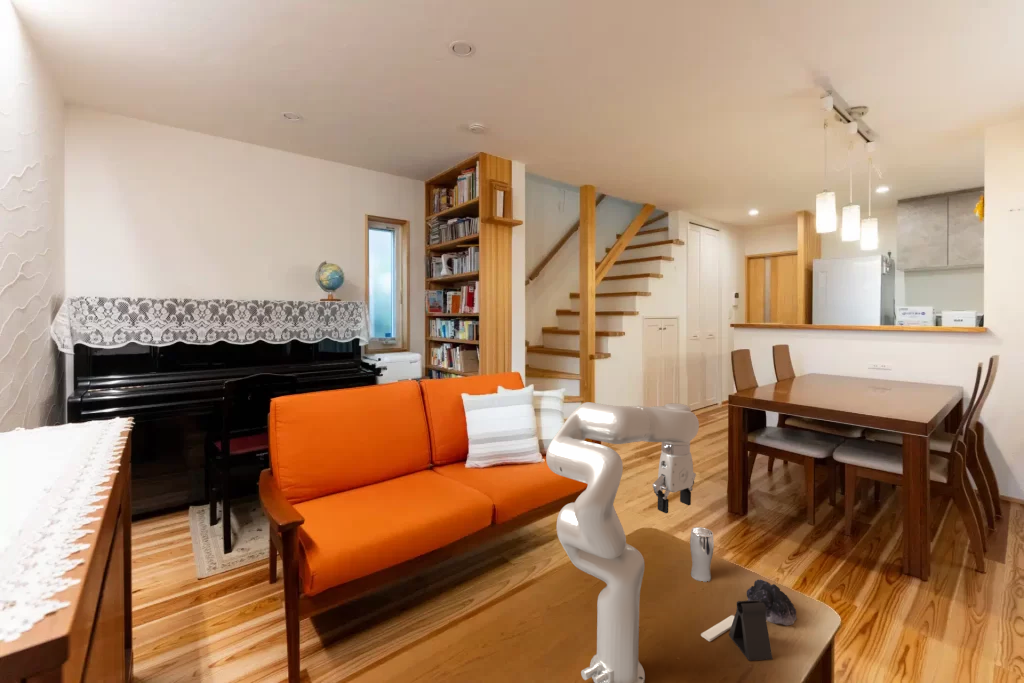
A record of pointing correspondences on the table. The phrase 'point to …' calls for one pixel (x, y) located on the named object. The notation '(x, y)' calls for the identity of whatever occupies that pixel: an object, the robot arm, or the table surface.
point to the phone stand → (751, 630)
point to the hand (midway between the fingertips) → (674, 507)
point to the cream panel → (718, 629)
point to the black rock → (773, 602)
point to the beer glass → (701, 553)
